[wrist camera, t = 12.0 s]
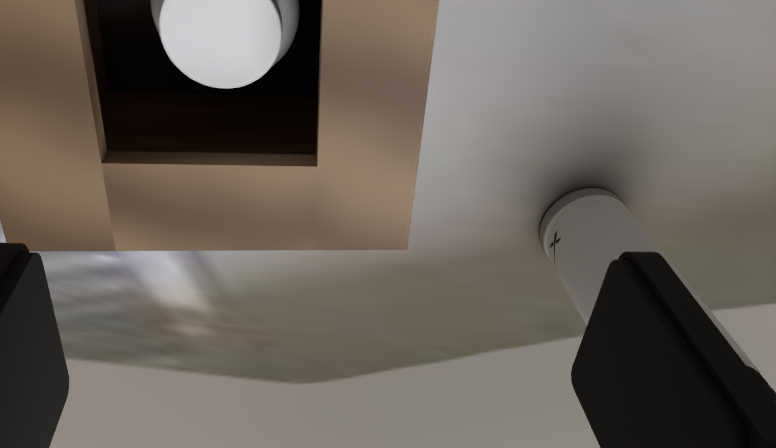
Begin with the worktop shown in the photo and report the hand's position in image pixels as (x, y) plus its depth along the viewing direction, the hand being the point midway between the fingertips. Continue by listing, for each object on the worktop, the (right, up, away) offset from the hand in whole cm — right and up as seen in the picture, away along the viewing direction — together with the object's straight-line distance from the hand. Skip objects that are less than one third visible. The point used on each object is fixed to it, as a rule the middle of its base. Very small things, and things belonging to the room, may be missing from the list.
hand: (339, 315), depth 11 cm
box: (-7, +15, +24) cm, 29 cm away
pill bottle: (-7, +15, +24) cm, 29 cm away
